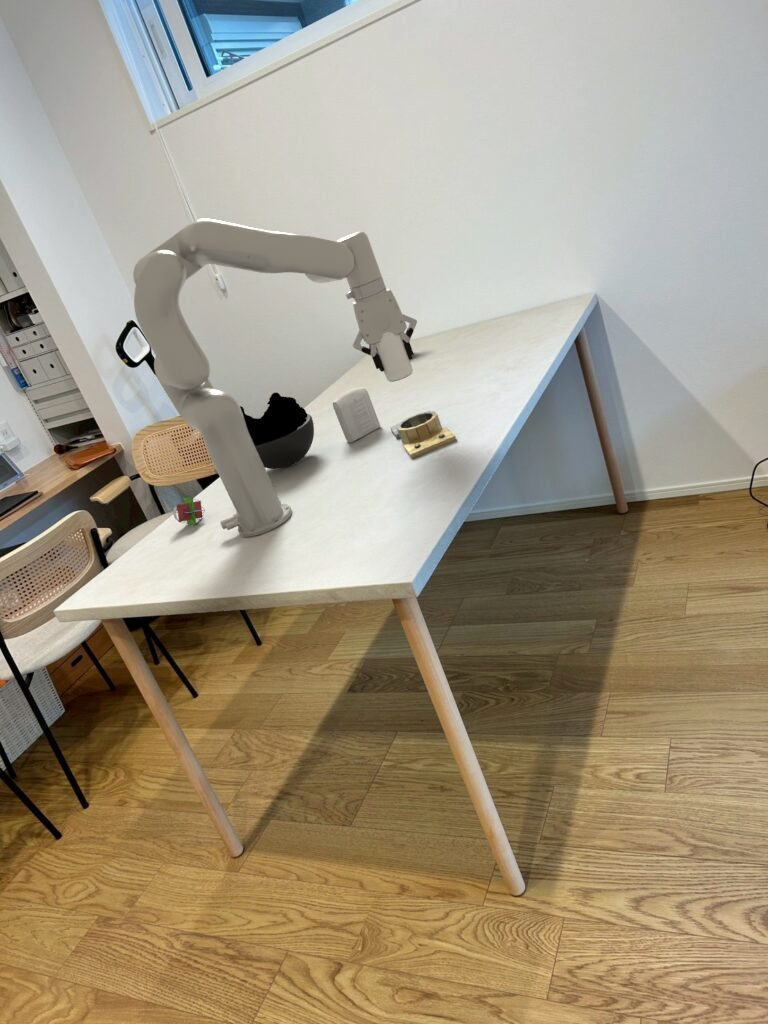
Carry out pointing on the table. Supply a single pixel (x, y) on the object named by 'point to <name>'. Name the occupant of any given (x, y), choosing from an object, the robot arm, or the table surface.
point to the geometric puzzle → (188, 511)
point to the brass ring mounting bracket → (422, 433)
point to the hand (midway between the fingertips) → (395, 364)
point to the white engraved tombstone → (356, 413)
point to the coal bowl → (281, 432)
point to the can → (393, 357)
